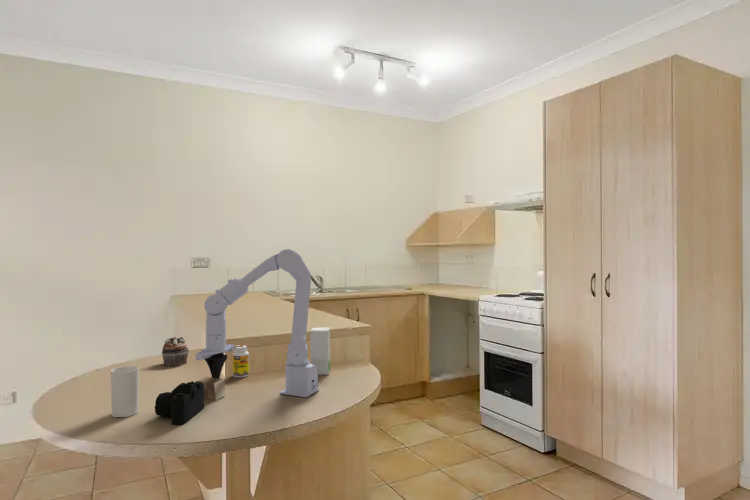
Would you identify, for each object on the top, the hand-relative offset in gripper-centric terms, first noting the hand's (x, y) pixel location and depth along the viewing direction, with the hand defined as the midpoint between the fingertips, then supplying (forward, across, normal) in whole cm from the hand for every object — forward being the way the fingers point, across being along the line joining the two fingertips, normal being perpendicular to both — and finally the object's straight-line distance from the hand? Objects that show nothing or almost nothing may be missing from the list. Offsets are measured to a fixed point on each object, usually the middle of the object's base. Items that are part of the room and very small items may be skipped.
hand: (215, 379), depth 143 cm
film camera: (+5, +17, +3) cm, 18 cm away
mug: (+5, +21, -12) cm, 24 cm away
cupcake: (+5, -24, -41) cm, 48 cm away
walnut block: (+2, +2, +4) cm, 5 cm away
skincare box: (+5, -35, +16) cm, 39 cm away
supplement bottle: (+5, -20, -7) cm, 22 cm away
